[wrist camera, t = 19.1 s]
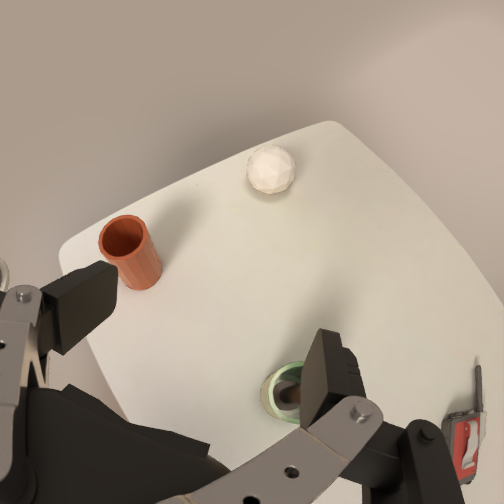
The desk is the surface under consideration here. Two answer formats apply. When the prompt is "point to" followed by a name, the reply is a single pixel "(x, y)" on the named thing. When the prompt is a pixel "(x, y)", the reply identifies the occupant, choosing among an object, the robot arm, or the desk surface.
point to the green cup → (266, 392)
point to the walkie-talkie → (466, 436)
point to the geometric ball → (271, 169)
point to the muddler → (287, 395)
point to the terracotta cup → (131, 251)
